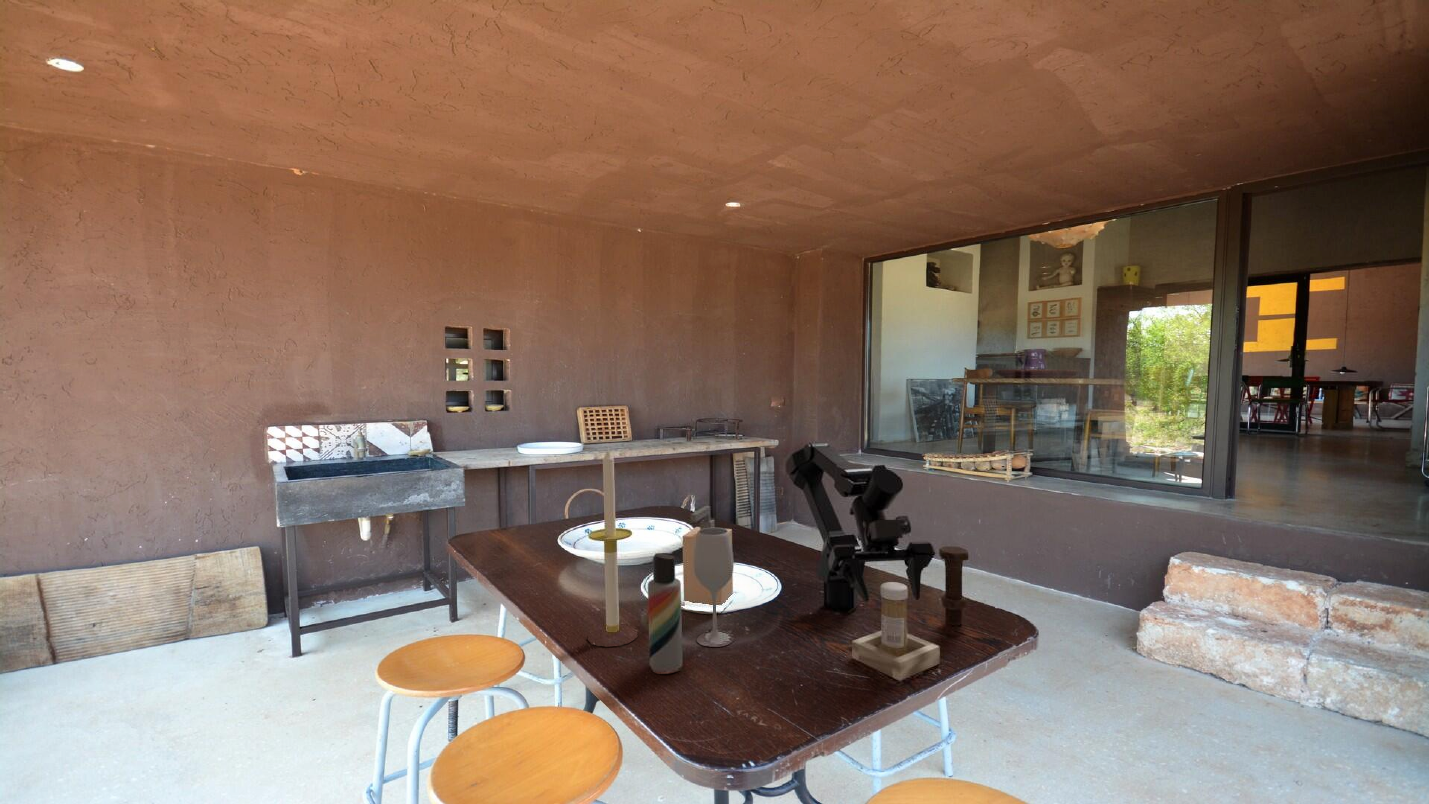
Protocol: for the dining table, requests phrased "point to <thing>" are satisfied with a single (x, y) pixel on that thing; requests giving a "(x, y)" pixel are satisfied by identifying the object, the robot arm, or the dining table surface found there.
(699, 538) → the wineglass
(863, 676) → the dining table surface
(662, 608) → the lotion bottle
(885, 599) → the sprinkles bottle
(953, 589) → the bolt
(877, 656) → the collar
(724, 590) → the soap dispenser
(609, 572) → the candle
